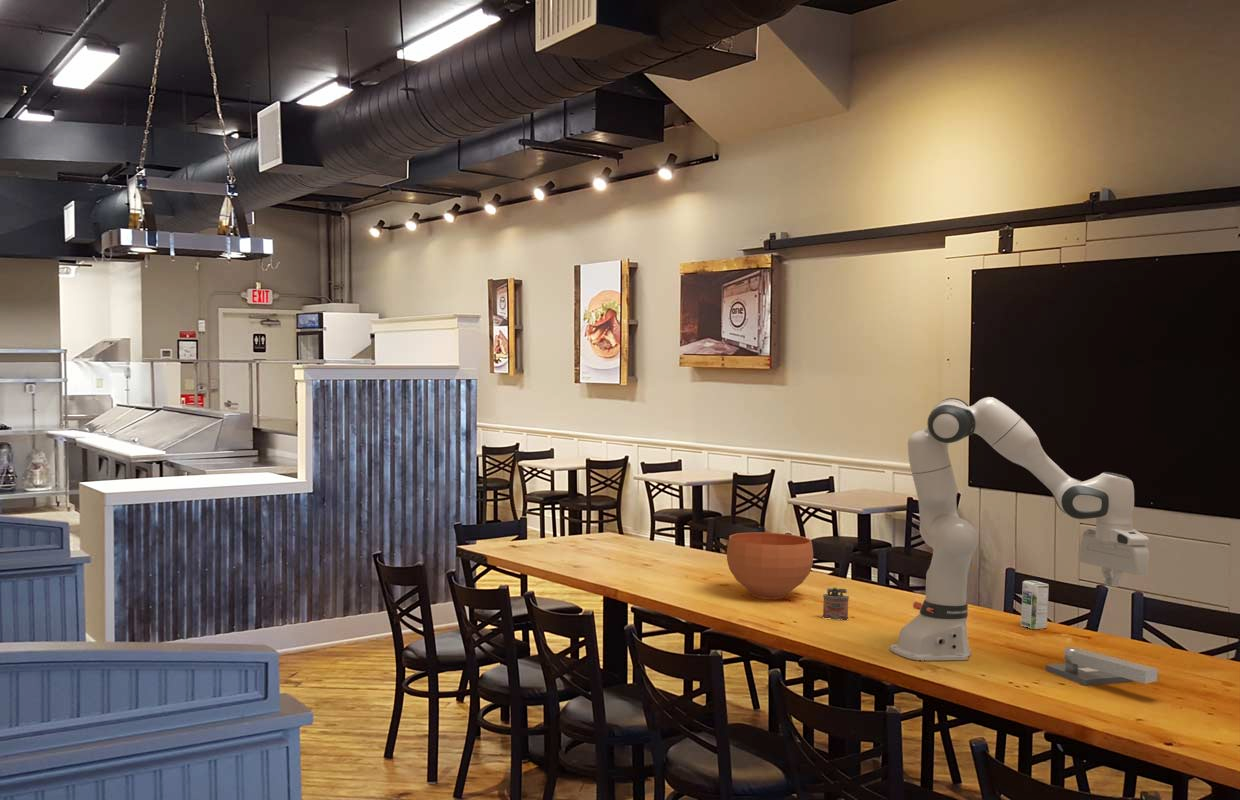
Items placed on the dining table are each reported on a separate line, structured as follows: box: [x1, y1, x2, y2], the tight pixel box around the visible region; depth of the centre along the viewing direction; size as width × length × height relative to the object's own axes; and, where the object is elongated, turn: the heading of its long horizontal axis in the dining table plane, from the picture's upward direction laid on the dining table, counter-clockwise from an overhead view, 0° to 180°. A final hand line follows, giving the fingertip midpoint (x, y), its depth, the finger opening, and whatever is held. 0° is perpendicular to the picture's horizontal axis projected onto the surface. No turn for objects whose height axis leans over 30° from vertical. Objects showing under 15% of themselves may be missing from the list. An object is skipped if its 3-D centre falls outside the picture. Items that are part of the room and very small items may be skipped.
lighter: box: [822, 586, 850, 621], centre depth 323 cm, size 8×3×10 cm, turn 76°
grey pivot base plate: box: [1045, 660, 1159, 687], centre depth 266 cm, size 24×14×4 cm, turn 110°
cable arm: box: [1064, 646, 1159, 685], centre depth 254 cm, size 23×5×3 cm, turn 31°
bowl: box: [726, 531, 814, 600], centre depth 355 cm, size 30×30×20 cm
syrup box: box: [1020, 580, 1050, 630], centre depth 318 cm, size 6×6×14 cm
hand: (1111, 585), depth 267 cm, fingers closed
